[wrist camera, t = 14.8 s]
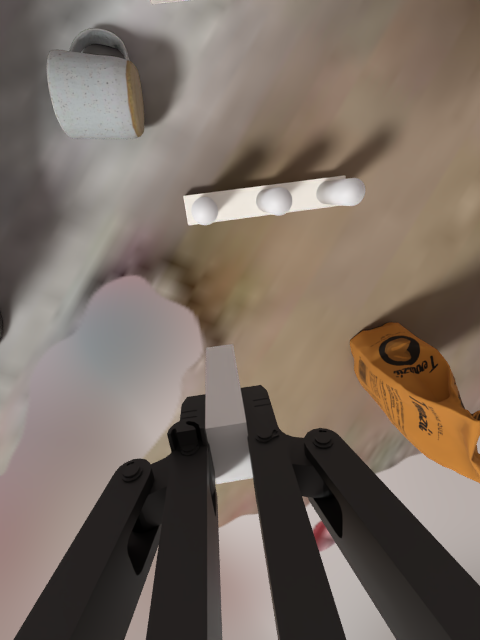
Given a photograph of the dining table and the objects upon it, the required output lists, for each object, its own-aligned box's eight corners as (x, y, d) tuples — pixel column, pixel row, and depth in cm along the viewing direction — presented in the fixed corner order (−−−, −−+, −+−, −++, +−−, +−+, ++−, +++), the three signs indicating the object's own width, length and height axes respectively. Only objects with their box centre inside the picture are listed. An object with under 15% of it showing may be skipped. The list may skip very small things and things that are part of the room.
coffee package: (400, 312, 51) (530, 390, 30) (412, 374, 55) (532, 478, 35) (341, 334, 51) (430, 426, 31) (358, 394, 56) (445, 508, 36)
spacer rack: (189, 224, 43) (184, 231, 34) (143, -41, 33) (120, -127, 24) (341, 204, 44) (374, 206, 35) (341, -59, 34) (387, -148, 25)
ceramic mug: (150, 144, 39) (137, 131, 32) (80, 143, 38) (51, 130, 31) (140, 36, 35) (123, -6, 28) (63, 34, 35) (25, -10, 28)
